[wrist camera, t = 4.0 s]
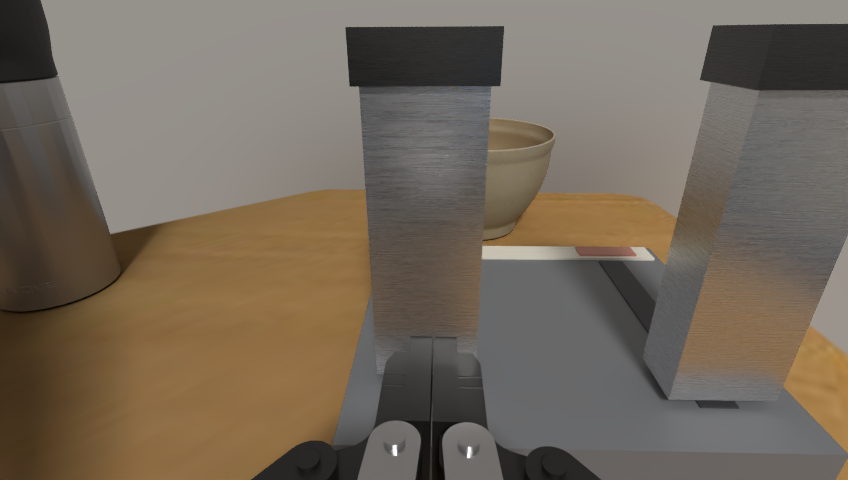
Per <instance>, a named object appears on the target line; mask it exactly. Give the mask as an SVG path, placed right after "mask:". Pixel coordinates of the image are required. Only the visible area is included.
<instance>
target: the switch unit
mask: <svg viewBox="0 0 848 480" xmlns="http://www.w3.org/2000/svg"><path fill="white" fill-rule="evenodd" d="M664 269H665V265H664V264H663V263H662V261H661V260H660V259H659V258H658V257H657V256H656V255H655V254H654V253H653V252H652V251H651V250H650V249H649V248H644V247H552V246H482V263H481V282H480V300H479V318H478V336H477V355H476V359H477V360H478V361H479V363H480V364H481V373H482V381H483V390H484V399H485V407H486V416H487V425H488V430H489V432H490V433H491V434H492V436H493V438H494V440H495V441H496V442H497V443H498V444H499V445H500V446H502V447H503V448H505V449H507V450H509V451H512V452H515V453H518V454H521V455H525V456H528V454H529V453H530V452H531V451H532V450H534V449H536V448H539V447H543V446H551V447H556V448H560V449H562V450H564V451H566V452H568V453H569V454H571V455H572V456H573V457H574V458H576V459H577V460H578V461H579V462H580V463H582V464H583V465H584V466H585V467H586V468H588V469H589V470H590V471H591V472H593V473H594V474H595V475H596V476H597V477H599V478H600V479H601V480H836V478H837V476H838V474H839V473H840V471H841V469H842V467H843V465H844V464H845V462H846V460H847V458H848V453H847V452H846V451H845V450H844V449H843V448H842V447H841V446H840V445H839V444H838V443H837V442H836V441H835V440H834V439H833V438H832V437H831V436H830V435H829V434H828V433H827V432H826V431H825V430H824V429H823V427H822V426H821V425H820V424H819V423H818V422H817V421H816V420H815V419H814V418H813V417H812V416H811V415H810V414H809V413H808V412H807V411H806V410H805V409H804V408H803V407H802V406H801V405H800V404H799V403H798V402H797V401H796V400H795V399H794V398H793V397H792V396H791V394H790V393H789V392H788V391H787V390H786V389H785V388H784V387H783V388H782V390H781V392H780V395H779V397H778V399H777V401H718V400H668V398H667V396H666V395H665V393H664V392H663V390H662V388H661V387H660V385H659V384H658V382H657V380H656V379H655V377H654V376H653V374H652V372H651V371H650V369H649V368H648V366H647V364H646V363H645V361H644V360H643V354H644V350H645V346H646V342H647V338H648V334H649V330H650V326H651V322H652V318H653V314H654V310H655V306H656V302H657V298H658V294H659V290H660V286H661V282H662V278H663V274H664ZM383 377H384V374H377V366H376V350H375V334H374V318H373V302H372V291H371V295H370V299H369V303H368V307H367V311H366V315H365V318H364V322H363V326H362V330H361V334H360V338H359V342H358V346H357V350H356V354H355V358H354V362H353V366H352V369H351V373H350V377H349V381H348V385H347V389H346V393H345V397H344V401H343V405H342V409H341V413H340V417H339V421H338V424H337V428H336V432H335V436H334V440H333V444H332V447H333V449H334V450H335V451H336V450H339V449H343V448H347V447H351V446H354V445H356V444H358V443H360V442H361V441H363V440H364V439H365V438H367V437H368V436H369V434H370V433H371V432H372V430H373V428H374V425H375V421H376V415H377V409H378V404H379V398H380V392H381V387H382V381H383ZM432 410H433V375H432ZM430 480H432V417H431V451H430Z"/></svg>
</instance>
